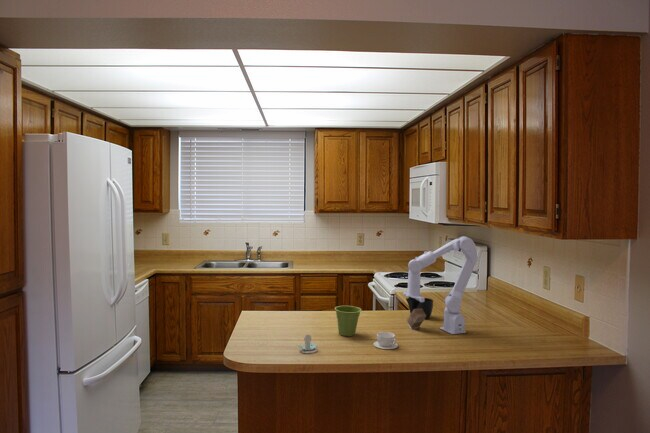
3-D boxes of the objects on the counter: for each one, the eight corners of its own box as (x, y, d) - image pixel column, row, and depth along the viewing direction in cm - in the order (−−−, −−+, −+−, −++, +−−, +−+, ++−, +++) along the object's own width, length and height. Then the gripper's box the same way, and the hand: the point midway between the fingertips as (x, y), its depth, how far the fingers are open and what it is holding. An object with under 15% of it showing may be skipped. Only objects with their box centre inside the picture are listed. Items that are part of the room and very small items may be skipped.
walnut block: (418, 327, 195) (426, 316, 190) (410, 328, 194) (418, 316, 188) (414, 320, 199) (421, 308, 193) (406, 320, 197) (413, 308, 192)
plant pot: (352, 340, 175) (353, 313, 175) (328, 334, 182) (329, 309, 181) (365, 333, 186) (366, 308, 185) (342, 328, 192) (342, 304, 191)
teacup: (368, 345, 170) (368, 334, 170) (383, 340, 177) (383, 329, 177) (388, 352, 163) (388, 340, 163) (402, 346, 170) (403, 335, 170)
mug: (420, 313, 222) (421, 295, 221) (435, 319, 211) (436, 300, 210) (408, 314, 218) (409, 296, 218) (422, 320, 207) (423, 302, 207)
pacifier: (320, 353, 161) (313, 347, 166) (320, 337, 160) (314, 332, 165) (302, 355, 157) (296, 349, 163) (303, 339, 157) (297, 334, 162)
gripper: (398, 282, 201) (397, 310, 201) (415, 288, 187) (414, 318, 188) (410, 281, 203) (409, 309, 204) (428, 288, 190) (427, 317, 190)
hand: (412, 313), depth 196 cm, fingers closed
